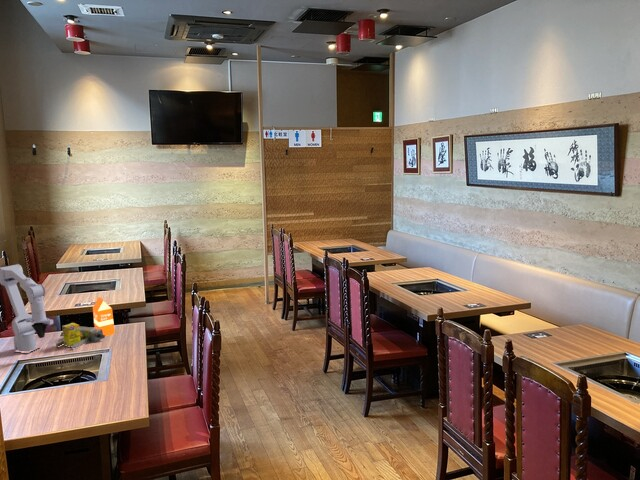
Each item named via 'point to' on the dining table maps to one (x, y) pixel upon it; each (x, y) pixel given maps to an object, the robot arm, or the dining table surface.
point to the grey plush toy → (86, 336)
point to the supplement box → (71, 334)
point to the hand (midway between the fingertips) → (41, 337)
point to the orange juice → (103, 317)
